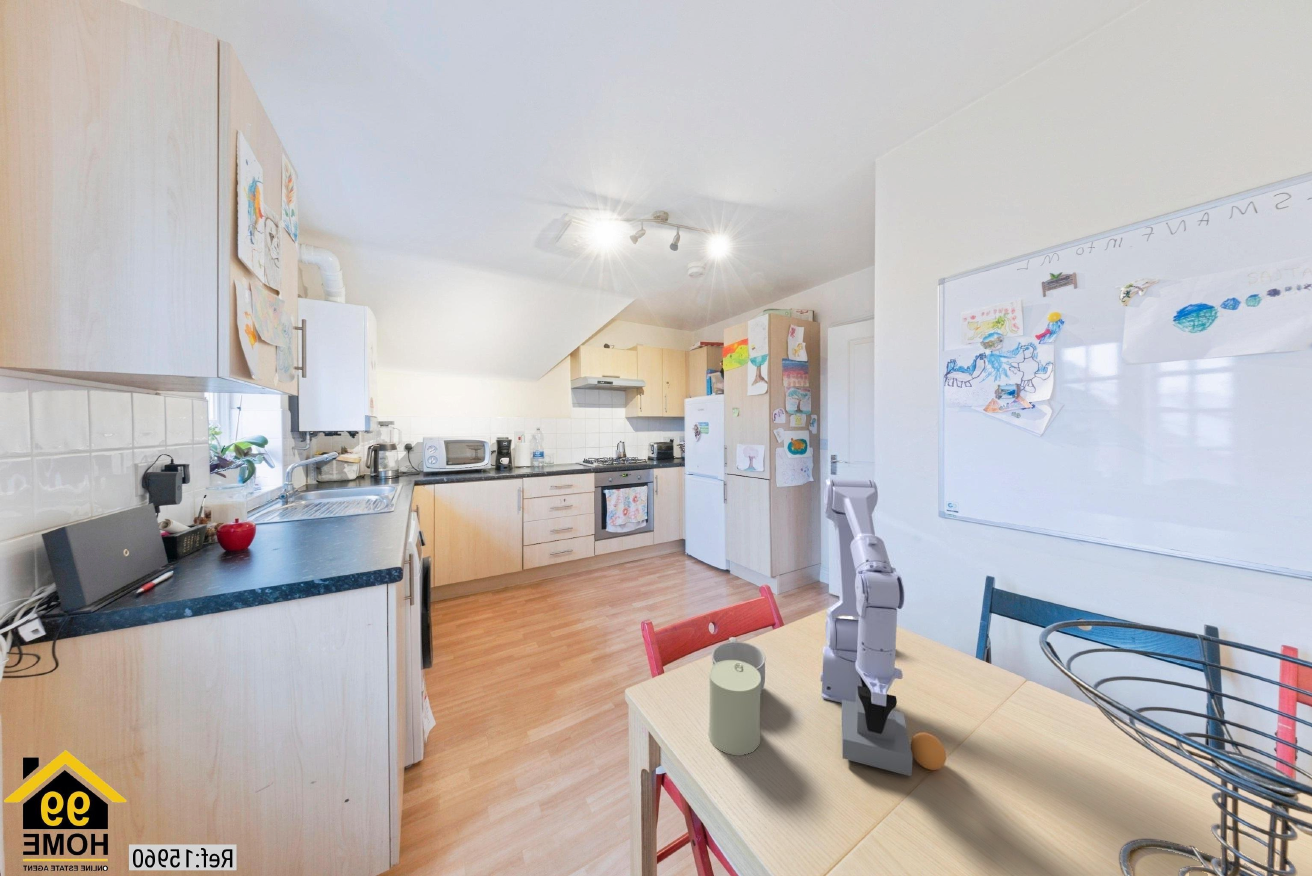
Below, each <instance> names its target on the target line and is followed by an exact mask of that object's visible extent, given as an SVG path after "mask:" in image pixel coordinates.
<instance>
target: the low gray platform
mask: <svg viewBox="0 0 1312 876" xmlns="http://www.w3.org/2000/svg"><path fill="white" fill-rule="evenodd" d="M894 709H895V708H894ZM894 709H893V710H892V711H891V712H890V714H889V715H888V717H887V720H886V723H885V727H884V730H883V732H882V734H878V733H874V732H870V731H868V729H867V725H866V718H865V711H864V707H863V704H862V702H861V700H860V698H859V696H858V691H856V702H851V701H847V700H842V703H841V743H842V744H841V746H842V747H841V751H842V759H843V760H848V761H851V762H855V763H858V764H863V765H866V766H871V767H874V768H879V769H883V770H886V771H890V772H893V773H896V774H900V775H904V776H907V777H908V776H909V777H913V774H912V773H913V754H912V751H911V741H910V739H909V734H908V730H907V725H906V720H905V714H904V712H902V711H897V710H894Z"/></svg>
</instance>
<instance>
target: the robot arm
mask: <svg viewBox="0 0 1312 876" xmlns="http://www.w3.org/2000/svg"><path fill="white" fill-rule="evenodd" d="M878 494H879V493H878V486H877V483H876V482H875V481H874V480H873V479H871V478H869V479H849V478H845V479H844V478H831V477H828V478H827V479H826V480H825V481H824V484H823V506H824V507H823V508H824V509H823V511H824V514H825V518H826V519H828V520H830V521H832V522H833V526H834V530H835V539H836V540H835V543H836V544H835V545H836V557H837V558H836V560H837V561H836V562H837V574H838V576H837V581H838V593H839V597H838V598H839V600H838V601H837V602H836V603H834V604H833V605H831V606H829V608H828V609H827V611H826V614H825V616H826V618H825V639H826V645H823V646H822V647H823V648H822V649H823V650H822V651H823V653H822V656H823V657H822V671H820V682H821V686H822V687H821V698H822V699H824V700H829V701H833V702H838V703H841V704H842V700H847V701H851V702H856V691H858V696H859V698H860V700H861V702H862V704H863V707H864V711H865V718H866V725H867V729H868V731H870V732H874V733H878V734H882V732H883V730H884V727H885V723H886V720H887V717H888V715H889V714H890V712H891V711H892V710H893V709H895V708H896V707H897V704H898V703H897V702H898V699H897V696H896V695H894V694H893V695H892V694H888V692H889V690H890V688H891V686H892V685H893V682H894V681H895V679H897V680H902V679H903V671H902V669H901V668H898V667H895V665H896V646H897V623H898V609H899V610H901V609H902V608H903V607H904V604H905V588H904V586H905V585H904V583H903V582H904V581H903V578H902V576H901V575H900V572H898V571H897V570H896V567H894V566H893V567H892V565H891V561H890V558H889V555H888V552H887V548H886V546H885V543H884V540H883V539H882V538H881V537H880V536H877V535H876V533H875V527H874V521H873V513H874V512H875V509H876V507H877V505H878V498H879V495H878ZM843 616H844V617H848V616H853V617H859V620H855V619H843V618H840V617H843Z"/></svg>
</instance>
